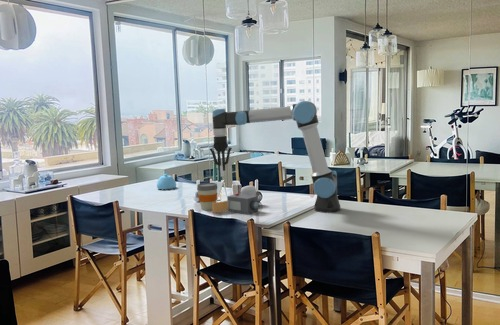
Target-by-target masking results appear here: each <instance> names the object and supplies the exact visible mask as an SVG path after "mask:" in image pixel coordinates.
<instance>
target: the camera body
mask: <svg viewBox="0 0 500 325" xmlns="http://www.w3.org/2000/svg"><path fill="white" fill-rule="evenodd" d="M227 200H229V210H227V211H228V212H233V213H237V214H239V213H240V214H245V215H246V214H247V215H249V214H253V213H256V212H259V206H260V204H259V198H258V195H256V196H253V195H245V194H241V193H239V192H235V193H234V194H231V195H227Z"/></svg>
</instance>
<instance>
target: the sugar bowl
mask: <svg viewBox="0 0 500 325" xmlns="http://www.w3.org/2000/svg"><path fill="white" fill-rule="evenodd" d="M176 187H177V183H176V180H175V178H174V177H173V176H172V175H168V173H164V174H163V175H161V176H160V177H159V179H158V180H157V183H156V188H157V189H158V190H159V189H170V190H174V189H176ZM173 188H174V189H173Z"/></svg>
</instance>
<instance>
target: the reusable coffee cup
mask: <svg viewBox="0 0 500 325" xmlns="http://www.w3.org/2000/svg"><path fill="white" fill-rule="evenodd" d="M196 186H197V187H196V189H197V192H198V194H197V196H198V201H199V204H200V208H201V210H203V211H210V210H211V211H213V209H212V203H217V200H218V183H217V182H203V183H198V184H197V185H196Z"/></svg>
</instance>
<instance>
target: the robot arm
mask: <svg viewBox="0 0 500 325" xmlns="http://www.w3.org/2000/svg"><path fill="white" fill-rule="evenodd" d="M317 112H318V111H317V106H316V105H315V103H313V102H312V101H308V100H303V101H299V102H298V103H293V104H291V106H278V107H271V108H270V107H269V108H260V109H259V108H258V109H251V110H250V109H249V110H248V109H247V110H239V111H226V108H214V109H213V110H212V129H213V130H212V132H213V144H212V147H210V148H209V151H210V152H211V155H212V158H213V161H214V162H213V163H214V164H215V165H216V166H217V167H218V171H219V172H220V178H222V177H223V178H224V176H225V171H226V165H228V164H229V160H230V156H231V151H232V149H233V148H232V147H230V146H229V144H228V139H227V138H228V136H227V135H228V134H227V126H242V125H243V126H244V125H246V124H254V123H265V122H266V123H267V122H276V121H287V120H288V121H290V120H293V121H294V122H296V126H297V129H298V130H300V131H301V133H302V137H303V141H304V145H305V148H306V152H307V155H308V159H309V162H310V166H311V170H312V174H311V175H310V176H311V179H312V183H313V185H312V189H313V192H314V194H316V199H315V202H314V211H315V212H319V213H336V212H340V211H341V203H340V201H339V198H338V174H337V171H336V170H332V169H330V168H329V167H328V162H327V159H326V156H325V152H324V149H323V145H322V141H321V138H320V133H319V130H318V124H319V120H318V115H317ZM226 150H227V153H226ZM215 151H216V152H215ZM216 153H217V156H216ZM225 153H226V154H225ZM225 155H226V156H225ZM221 160H222V161H221Z"/></svg>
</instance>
